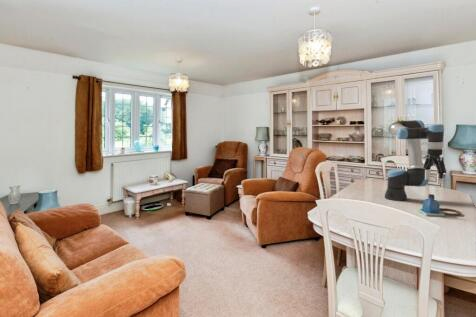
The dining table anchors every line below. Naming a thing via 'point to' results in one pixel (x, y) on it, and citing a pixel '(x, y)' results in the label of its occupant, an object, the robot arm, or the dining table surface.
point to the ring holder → (450, 213)
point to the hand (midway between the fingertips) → (433, 181)
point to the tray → (430, 214)
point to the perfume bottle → (431, 205)
